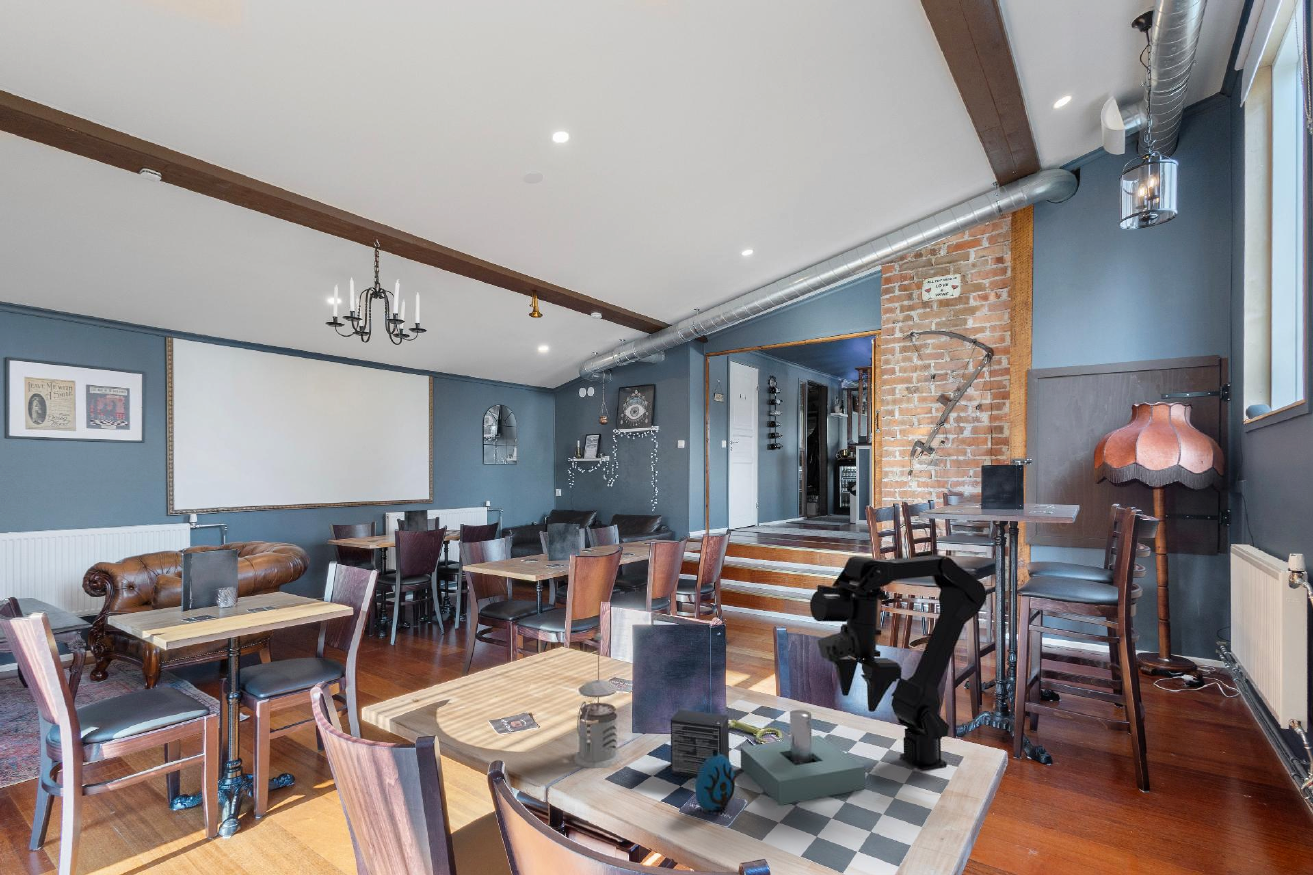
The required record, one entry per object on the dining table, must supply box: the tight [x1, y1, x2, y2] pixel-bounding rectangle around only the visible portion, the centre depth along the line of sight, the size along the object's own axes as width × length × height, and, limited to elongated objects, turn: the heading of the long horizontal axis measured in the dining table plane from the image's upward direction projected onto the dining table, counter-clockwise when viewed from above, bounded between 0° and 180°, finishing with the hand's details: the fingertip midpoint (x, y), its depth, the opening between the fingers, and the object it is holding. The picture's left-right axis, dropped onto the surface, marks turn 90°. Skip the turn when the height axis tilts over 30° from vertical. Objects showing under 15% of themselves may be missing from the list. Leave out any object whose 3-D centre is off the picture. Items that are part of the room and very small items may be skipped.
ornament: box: [694, 749, 736, 811], centre depth 111 cm, size 8×5×10 cm, turn 126°
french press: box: [573, 632, 623, 769], centre depth 131 cm, size 10×12×25 cm
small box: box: [669, 709, 730, 779], centre depth 125 cm, size 11×6×10 cm, turn 71°
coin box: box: [740, 734, 867, 806], centre depth 122 cm, size 18×15×4 cm
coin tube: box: [789, 709, 813, 766], centre depth 122 cm, size 4×4×12 cm
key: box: [729, 718, 783, 742], centre depth 142 cm, size 7×12×2 cm, turn 67°
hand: (857, 703), depth 125 cm, fingers open, 9 cm apart
